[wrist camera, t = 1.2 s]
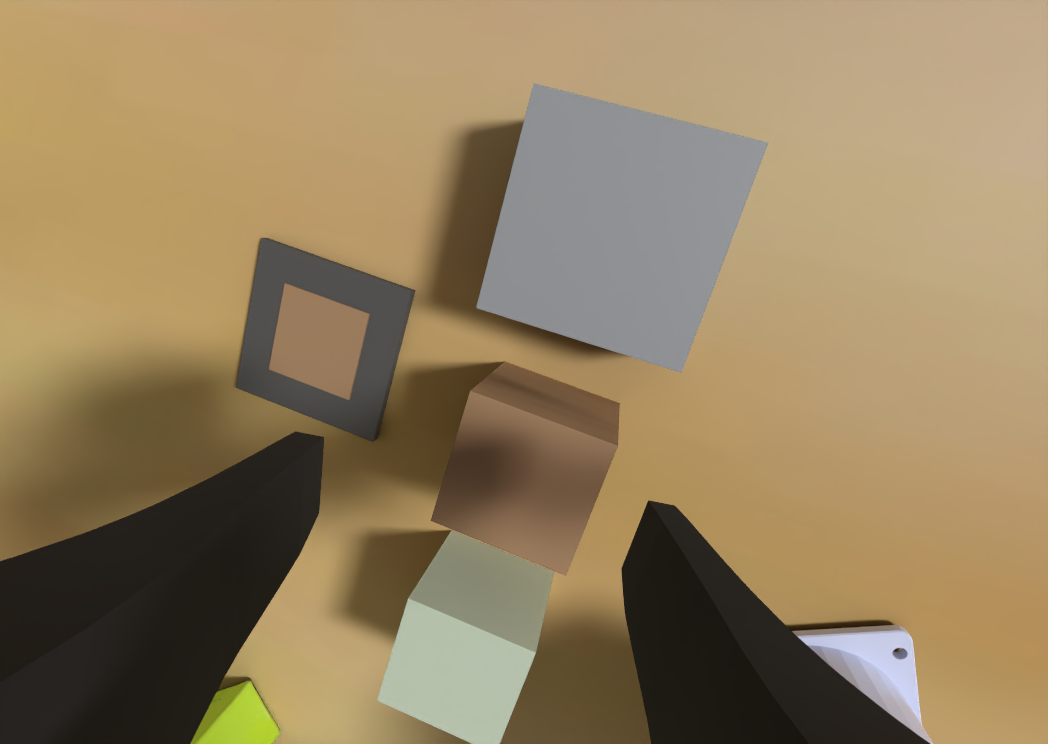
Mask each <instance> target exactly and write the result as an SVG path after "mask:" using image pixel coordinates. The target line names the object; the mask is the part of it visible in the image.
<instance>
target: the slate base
mask: <svg viewBox="0 0 1048 744" xmlns="http://www.w3.org/2000/svg"><path fill="white" fill-rule="evenodd" d="M767 145H768V143H767V142H763V141H759V140H755V139H752V138H748V137H744V136H740V135H736V134H732V133H728V132H724V131H720V130H716V129H712V128H708V127H704V126H700V125H696V124H692V123H688V122H684V121H680V120H677V119H673V118H669V117H665V116H661V115H657V114H653V113H649V112H645V111H641V110H637V109H633V108H629V107H625V106H621V105H617V104H613V103H609V102H605V101H602V100H598V99H594V98H590V97H586V96H582V95H578V94H574V93H570V92H566V91H562V90H558V89H554V88H550V87H546V86H542V85H538V84H533V88H532V92H531V95H530V99H529V103H528V107H527V111H526V115H525V119H524V123H523V127H522V131H521V135H520V138H519V142H518V146H517V150H516V154H515V158H514V162H513V166H512V170H511V174H510V178H509V182H508V185H507V189H506V193H505V197H504V201H503V205H502V209H501V213H500V217H499V221H498V225H497V228H496V232H495V236H494V240H493V244H492V248H491V252H490V256H489V260H488V264H487V268H486V271H485V275H484V279H483V283H482V287H481V291H480V295H479V299H478V303H477V307H476V308H478V309H481V310H484V311H487V312H490V313H493V314H497V315H500V316H503V317H506V318H509V319H512V320H516V321H519V322H522V323H525V324H528V325H532V326H535V327H538V328H541V329H544V330H547V331H551V332H554V333H557V334H560V335H563V336H566V337H570V338H573V339H576V340H579V341H582V342H585V343H589V344H592V345H595V346H598V347H601V348H605V349H608V350H611V351H614V352H617V353H620V354H624V355H627V356H630V357H633V358H636V359H639V360H643V361H646V362H649V363H652V364H655V365H658V366H662V367H665V368H668V369H671V370H674V371H678V372H682V370H683V367H684V364H685V362H686V359H687V356H688V354H689V351H690V348H691V346H692V343H693V340H694V338H695V335H696V333H697V330H698V327H699V325H700V322H701V319H702V317H703V314H704V311H705V309H706V306H707V303H708V301H709V298H710V296H711V293H712V290H713V288H714V285H715V282H716V280H717V277H718V274H719V272H720V269H721V266H722V264H723V261H724V258H725V256H726V253H727V251H728V248H729V245H730V243H731V240H732V237H733V235H734V232H735V229H736V227H737V224H738V221H739V219H740V216H741V213H742V211H743V208H744V206H745V203H746V200H747V198H748V195H749V192H750V190H751V187H752V184H753V182H754V179H755V176H756V174H757V171H758V168H759V166H760V163H761V161H762V158H763V155H764V153H765V150H766V147H767Z"/></svg>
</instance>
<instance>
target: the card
mask: <svg viewBox="0 0 1048 744" xmlns="http://www.w3.org/2000/svg"><path fill="white" fill-rule="evenodd" d="M414 293H415V290H413V289H410V288H407V287H404V286H401V285H398V284H396V283H393V282H390V281H387V280H384V279H381V278H379V277H376V276H373V275H370V274H367V273H365V272H362V271H359V270H356V269H353V268H350V267H348V266H345V265H342V264H339V263H336V262H333V261H331V260H328V259H325V258H322V257H319V256H317V255H314V254H311V253H308V252H305V251H302V250H300V249H297V248H294V247H291V246H288V245H286V244H283V243H280V242H277V241H274V240H271V239H269V238H261V242H260V248H259V254H258V260H257V266H256V272H255V278H254V284H253V290H252V295H251V301H250V307H249V313H248V319H247V325H246V331H245V337H244V343H243V349H242V354H241V360H240V366H239V372H238V378H237V384H236V388H238V389H241V390H243V391H246V392H248V393H251V394H253V395H256V396H258V397H261V398H263V399H266V400H268V401H271V402H274V403H276V404H279V405H281V406H284V407H286V408H289V409H291V410H294V411H296V412H299V413H301V414H304V415H306V416H309V417H312V418H314V419H317V420H319V421H322V422H324V423H327V424H329V425H332V426H334V427H337V428H339V429H342V430H344V431H347V432H350V433H352V434H355V435H357V436H360V437H362V438H365V439H367V440H370V441H372V442H373V441H375V440H376V439H377V437H378V433H379V429H380V425H381V421H382V418H383V414H384V410H385V406H386V402H387V398H388V394H389V390H390V386H391V383H392V379H393V375H394V371H395V367H396V363H397V359H398V355H399V351H400V348H401V344H402V340H403V336H404V332H405V328H406V324H407V320H408V316H409V313H410V309H411V305H412V301H413V297H414Z"/></svg>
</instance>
